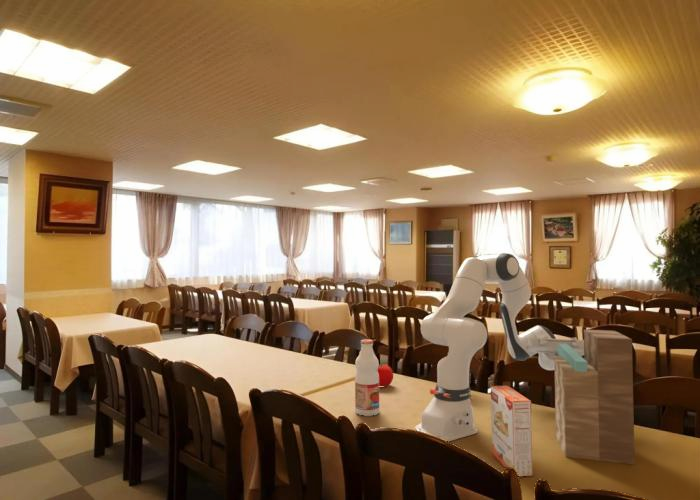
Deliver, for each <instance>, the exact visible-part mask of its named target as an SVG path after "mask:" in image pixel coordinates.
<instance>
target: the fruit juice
mask: <svg viewBox="0 0 700 500" xmlns="http://www.w3.org/2000/svg"><path fill="white" fill-rule="evenodd" d="M360 345H361V346H360V352H359V354H358V356H357V357H356V359H355V364H354V365H355V369H356V372H355V375H354V377H355V378H354V385H355V386H354V389H355V390H354V395H355V397H354V399H355V400H354V401H355V404H354V405H355V406H354V407H355V414H357V415H358V414H359V416H361V415H364V416H363V417H373V415H374V416H376V415H378V414H379V412H380V387H379V374H378V371H377V370H378V365H379V359H378V358H377V356H376V353H375V351H374V349H373V345H374V340H373V339H370V338H365V339H361V340H360Z"/></svg>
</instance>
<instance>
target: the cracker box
mask: <svg viewBox="0 0 700 500" xmlns="http://www.w3.org/2000/svg"><path fill="white" fill-rule="evenodd" d="M490 404H491V406H490V409H491V410H490V411H491V412H490V414H491V453H492V455H493V456H494V457H495V459H497V460H498V461H499V463H500V464H501V465H502V466H503V467H504V468H505V467H513V468H514V469H515V470H516V472H517V473H518V476H519V477H518V478H521V477H522V478H524V477H523V476H526V477H533V476H534V475H533V474H534V473H533V472H534V471H533V467H534V466H533V433H532V432H533V431H532V429H533V428H532V427H533V426H532V422H533V421H532V401H531V400H530V399H529V398H527V397H526V396H524V395H522V394H521V393H520V392H518V391H516V390H515V389H514V388H512V387H510V386H509V385H493V386H490Z"/></svg>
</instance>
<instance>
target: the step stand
mask: <svg viewBox="0 0 700 500" xmlns="http://www.w3.org/2000/svg"><path fill="white" fill-rule="evenodd" d="M583 340H584V355H583V359H585V360H586V361H587V372H579V371H575V370H574V369H573V368H572V366H571V365H570V364H569V363H568V362H567V361H566V360H565V359H557V358H554V364H555V370H554V401H555V402H554V412H555V413H554V415H555V418H554V419H555V421H554V422H555V438H556V440H557V443H558V444H559V446H560V448H561V450H562V452H563V454H564V456H565V458H572V459H580V460H590V461H601V462H607V463H608V462H609V463H618V464H619V463H620V464H625V465H626V464H627V465H635V426H634V425H635V423H634V421H635V419H634V418H635V417H634V376H633V375H634V373H633V372H634V371H633V370H634V369H633V368H634V367H633V339H632V338H630V337H628V336H626V335H625V334H622V333H620V332H618V331H616V330H611V329H610V330H609V329H608V330H606V329H583Z"/></svg>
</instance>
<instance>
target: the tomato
mask: <svg viewBox="0 0 700 500" xmlns="http://www.w3.org/2000/svg"><path fill="white" fill-rule="evenodd" d="M377 371H378V374H379V386H387V387H389V386H390V385H391V384H392V382H393V380H394V371H393V369H392V367H390V365H387V363H386V364H384V363H383V364H382V363H381V364H379V365H378V370H377ZM388 385H389V386H388Z"/></svg>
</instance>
